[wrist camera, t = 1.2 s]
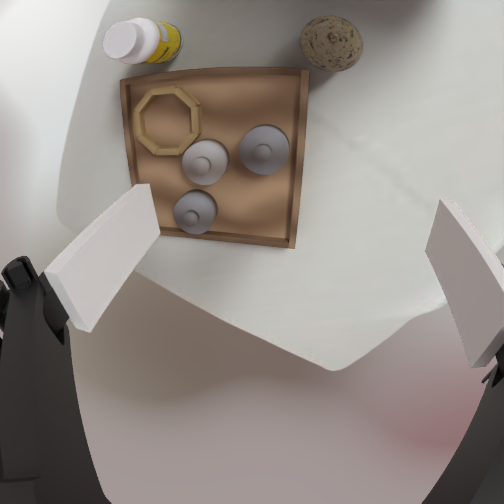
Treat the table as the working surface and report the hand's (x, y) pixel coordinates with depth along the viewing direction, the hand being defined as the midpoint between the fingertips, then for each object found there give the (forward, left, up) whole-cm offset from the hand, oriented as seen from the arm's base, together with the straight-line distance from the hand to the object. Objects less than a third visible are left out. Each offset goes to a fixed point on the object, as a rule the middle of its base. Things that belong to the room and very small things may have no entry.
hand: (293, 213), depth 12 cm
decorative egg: (-10, +3, -23) cm, 25 cm away
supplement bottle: (-11, -16, -23) cm, 30 cm away
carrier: (+4, -10, -22) cm, 25 cm away
